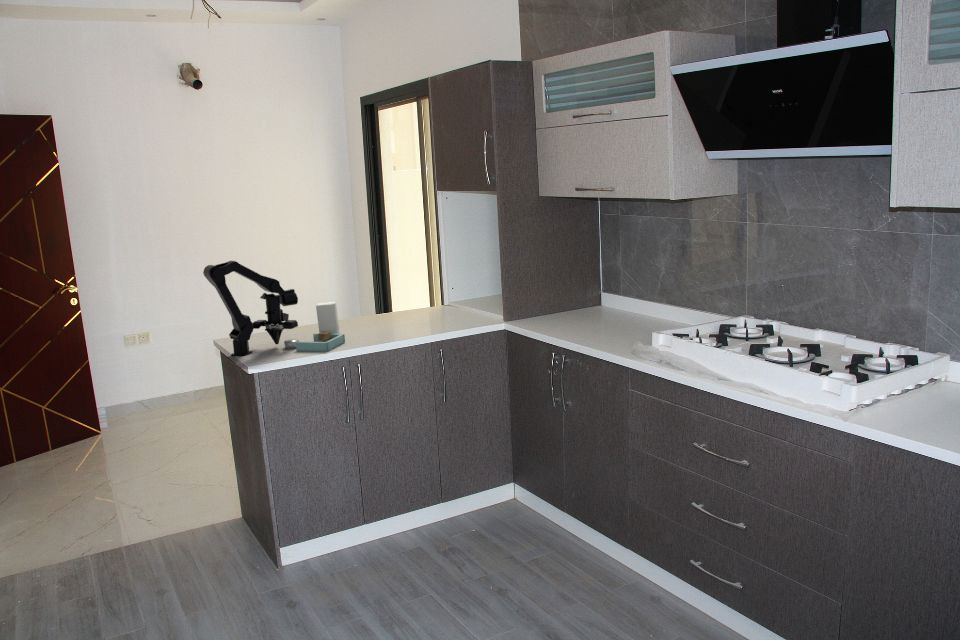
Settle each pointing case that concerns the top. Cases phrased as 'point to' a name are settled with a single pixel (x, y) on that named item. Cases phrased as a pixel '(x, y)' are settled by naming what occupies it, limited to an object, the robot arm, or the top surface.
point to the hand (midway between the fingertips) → (277, 344)
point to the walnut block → (324, 336)
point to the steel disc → (290, 343)
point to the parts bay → (321, 343)
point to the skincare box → (327, 317)
